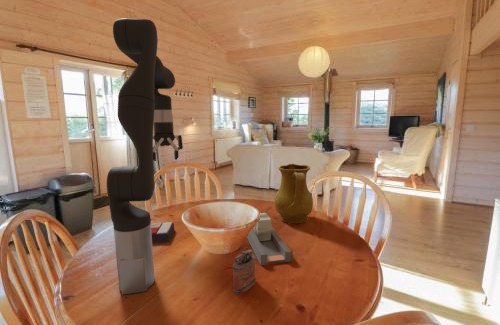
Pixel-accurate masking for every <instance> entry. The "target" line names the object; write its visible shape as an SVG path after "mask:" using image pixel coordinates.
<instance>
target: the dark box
mask: <svg viewBox="0 0 500 325" xmlns="http://www.w3.org/2000/svg"><path fill="white" fill-rule="evenodd" d="M174 223H175V222H172V221H169V222H163V223H162V222H151V233H152V243H170V241H171V239H172V237H173V234H174V232H175V224H174Z"/></svg>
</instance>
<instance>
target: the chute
mask: <svg viewBox="0 0 500 325" xmlns="http://www.w3.org/2000/svg"><path fill="white" fill-rule="evenodd" d="M246 238H247V241H248V243H249V244H250V246H251V248H252V249H251V250H252V252H253V253H254V256H255V257H256V258H257V259H256V260H258V263H259V265H260V266H268V265H274V264H282V263H291V261H292V251H291V248H289V247H288V246H287V244H286V243H285V242H284V240H283V239H282V237H281V236H280V235H279V234H278V232H277V231H276V230H275V229H274V227H273V226H272V225H271V240H268V241H259V240H258V238H257V236H256V234H255V233H254V231H253V229H251V231H250V232H249V234H248V236H246Z"/></svg>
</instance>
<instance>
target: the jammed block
mask: <svg viewBox="0 0 500 325" xmlns="http://www.w3.org/2000/svg"><path fill="white" fill-rule="evenodd" d="M260 215H261V217H260V220H259V221H258V222H257V223H256V225H255V226H254V227H253V231H254V233H255V234H256V236H257V238H258V240H259V241H268V240H271V226H272V218H271V217H270V216H269V215H268V213H267V212H262V213H261V212H260Z"/></svg>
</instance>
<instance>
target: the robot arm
mask: <svg viewBox="0 0 500 325" xmlns="http://www.w3.org/2000/svg"><path fill="white" fill-rule="evenodd" d="M157 30H158V29H157V27H156V25H155V23H154V22H153V20H151V19H148V18H127V17H126V18H117V19H116V20H115V21H114V22H113V25H112V35H113V40H114V42H115V45H116V46H117V48H118V50H119V51H120V52H121V53H123V54H124V56H126V57H128V58H129V59H130V60H132V61H133V62H134V63H135V64H136V65H137V66H136V67H135V68H134V70H133V72H132V73H131V74H130V76H129V77H128V78H127V79H126V80H125V81H124V83H123V85H122V86H121V88H120V90H119V92H118V96H117V99H118V100H117V102H118V103H117V118H118V121H119V124H120V125H121V127H122V128H123V130H124V131H125V133H126V134H127V136H128V138H129V140H130V141H131V142H132V144H133V146H134V148H135V150H136V154H137V162H138V164H137V165H138V166H137V165H130V166H129V165H128V166H127V165H126V166H124V165H123V166H121V165H120V166H113V167H112V168H110V169H109V171H108V173H107V175H106V194H107V198H108V204H109V205H108V206H109V210H110V211H109V212H110V218H111V221H112V226H113V235H114V246H115V256H116V267H117V278H118V288H119V291H120V292H121V295H129V294H136V293H145V292H147V291H148V289H149V288H150V287H151V286H153V284H154V283H155V278H156V277H155V266H154V264H155V263H154V252H153V250H154V248H153V242H152V233H151V223H152V220H151V214H150V212H149V211H147V210H145V209H143V208H140V207H137V206H135V205H134V204H132V203H131V202H147V201H150V200H151V199H152V197H153V195H154V190H155V166H154V162H157V152H156V151H157V150H158V148H159V147H169V146H171V147H172V148H173V150H174V151H173V155H174V160H175V161H176V160H178V159H179V157H180V156H179V152H180V150H183V147H184V146H183V138H182V135H181V134H177V135H175V134H174V119H173V118H174V116H173V108H172V97H171V96H170V95H168V94H162V93H160V92H159V90H170V89H173V87H174V86H175V83H176V77H175V75H174V73H173V71H171V69H169V68H168V67H166V66H165V65H164V64H163V62H162V60H161V59H160V57H159V56H158V55H157V53H158V41H159V40H158V31H157ZM175 140H176V141H177V145H178V146H177V145H176V144H175V142H174V141H175ZM153 141H155V143H154V142H153Z"/></svg>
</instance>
